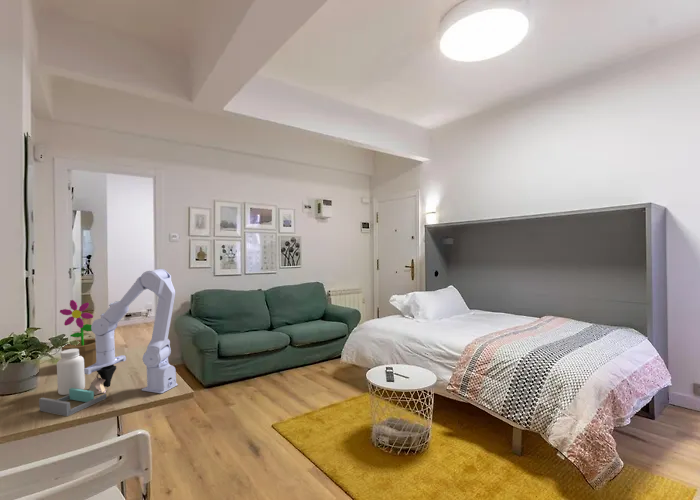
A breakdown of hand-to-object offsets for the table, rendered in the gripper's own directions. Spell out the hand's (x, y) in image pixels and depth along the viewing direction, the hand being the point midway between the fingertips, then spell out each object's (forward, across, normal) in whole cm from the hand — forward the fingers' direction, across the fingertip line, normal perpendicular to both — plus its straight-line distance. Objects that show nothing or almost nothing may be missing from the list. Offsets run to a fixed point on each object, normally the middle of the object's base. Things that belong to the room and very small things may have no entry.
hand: (106, 386), depth 132 cm
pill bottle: (+2, +4, -12) cm, 13 cm away
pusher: (+1, +9, 0) cm, 9 cm away
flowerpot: (+2, -16, -34) cm, 37 cm away
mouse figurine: (+2, +4, -2) cm, 4 cm away
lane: (+1, +11, 0) cm, 11 cm away
